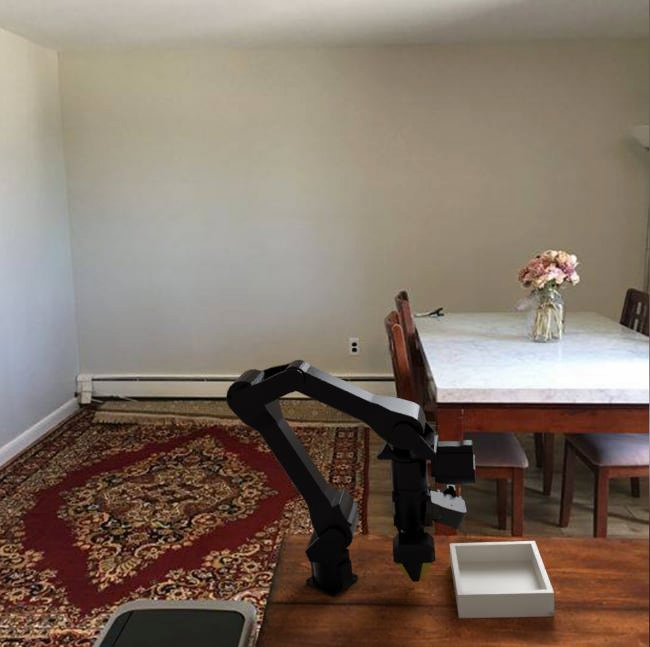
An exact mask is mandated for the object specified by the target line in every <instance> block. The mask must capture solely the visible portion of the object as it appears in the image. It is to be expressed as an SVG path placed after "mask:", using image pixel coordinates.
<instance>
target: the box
mask: <svg viewBox="0 0 650 647" xmlns="http://www.w3.org/2000/svg"><path fill="white" fill-rule="evenodd" d="M449 552H450V553H449V554H450V556H449V557H450V567H451V575H452V580H453V588H454V595H455V602H456V608H457V615H458V616H457V617H458V619H479V618H480V619H482V618H483V619H485V618H487V619H489V618H530V617H531V618H535V617H537V618H539V617H545V618H546V617H547V618H548V617H555V592H554V588H553V586H552V583H551V581H550V578H549V576H548V573H547V571H546V567H545V565H544V563H543V562H544V561H543V560H542V557H541V554H540V551H539V548H538V546H537V543H536V541H535V540H523V541H521V540H520V541H488V542H457V543H456V542H454V543H449Z"/></svg>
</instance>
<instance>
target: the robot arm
mask: <svg viewBox="0 0 650 647" xmlns="http://www.w3.org/2000/svg"><path fill="white" fill-rule="evenodd" d="M295 392H297V393H300V394H302V395H303V396H306V397H307V398H310V399H312V400H315V401H316V402H319V403H321V404H324V405H326V406H327V407H329V408H332V409H334V410H337V412H341V413H343V414H345V415H346V416H350V417H352V418H354V419H356V420H358V421H360V422H363V423H364V424H365V425H367V426H368V427H369V428H370V429H371V430H372V431H373V432H374V433H375V434H376V435H377V437H379V438H380V439H382V440H384V441H385V442H384V444H382V445H381V446H380V447H379V448H378V451H377V455H376V459H377V460H378V461H389V465H390V466H389V468H390V479H391V502H392V512H393V527H395V528H396V530H397V532H398V533H396V535H395V536H394V537H393V538H392V558H393V559H392V560H393V563H395V564H396V565H397V564H402V565H403V567H404V568H405V570H406V572H407V573H408V575H409V577H410V578H409V579H410V580H411V582H412V583H418V582H420V580H421V578H420V575H421V570H422V565H423V563H431V564H433V563H434V562H436V548H435V538H434V536H432V534H430V533H429V532H427V531H425V527H428V528H429V527H434V524H433V523H437V524H440V525H443V526H446V527H450V528H451V529H453V530H457V531H458V530H461V529H462V526H463V523H464V520H465V517H466V516H467V513H468V512H467V507H466V502H465V500H464V499H463V498H462V495H457V490H456V486H476V483H477V482H476V481H477V479H476V477H477V476H476V455H475V454H474V442H473V440H472V439H464V440H459V441H458V440H457V441H456V440H454V441H453V440H452V441H451V440H446V441H443V440H441V441H439V437H440V436H439V434H438V432H436V430H435V428H433V427H432V426H431V424H430V423H429V422H428V421H427V419H426V414H425V412H424V410H423V408H422V407H421V405H419V404H417V403H416V402H413V401H411V400H406V399H403V398H399V397H395V396H388V395H387V396H386V395H385V396H384V395H378V394H376V393H373V392H370V391H368V390H366V389H363V388H361V387H359V386H357V385H355V384H353V383H350V382H348V381H347V380H343V379H342V378H339V377H337V376H335V375H332V374H331V373H328V372H326V371H324V370H321V369H319V368H317V367H315V366H313V365H311V364H309V363H308V362H307V361H305V360H304V359H295V360H293V361H291V362H287V363H284V364H279V365H274V366H270V367H268V368H265V369H263V370H259V369H256V368H253V369H251V368H250V369H247V370H245V371H244V372H243V373H241V374H240V375H239V377H237V379H236V380H235V381H233V383H231V385H230V386H229V387H228V389H227V392H226V397H225V401H226V404H227V406H228V408H229V409H230V411H231V412H232V413H233V414H234V415H235V416H236V417H237V418H238V419H239V420H240V421H241V423H242V424H244V425H246V426H248V427H249V428H250V429H253V430H254V431H256V432H257V433H258V434H259V435H260V436H261V438H262V439H263V441H264V442H265V445H266V446H267V447H268V448H269V450H270V451H271V453H272V454H273V456H274V457H275V460H277V461H278V464H280V466H281V468H282V469H283V471H284V472H285V474H286V475H287V478H289V480H290V481H291V483H292V484H293V486H294V487H295V488H296V490H297V492H298V493H299V495H300V496H301V498H302V499H303V500H304V502H305V504H306V507H307V510H308V514H309V519H310V523H311V527H312V529H313V530H312V534H311V537H310V539H309V541H308V544H307V546H306V548H305V551H304V553H305V554H306V557H307V559H308V562H310V567H311V576H310V577H309V578H307V579H306V580H305V584H306V585H308V586H309V587H311V588H312V589H315V590H317V591H319V592H321V593H323V594H325V595H327V596H329V597H336V596H337V595H339V594H340V593H341V592H342V591H345V589H347V588H348V587H349V586H351V585H352V584H353V583H354V582H356V581H357V580H359V577H358V576H359V575H357V574H356V573H354V572H353V568H352V566H353V565H352V560H351V558H350V549H348V548H349V547H350V545H351V544H352V542H353V539H354V536H355V532H356V529H357V525H358V522H359V511H358V507H359V503H357V502H356V501H354V500H353V498H352V497H351V495H350V493H349V491H348V489H347V487H346V486H345V487H343V488H341V489H340V490H338V489H336V488H335V487H332V486H331V485H330V483H328V482H327V480H326V479H325V476H323V474H322V472H321V471H320V469H319V468H318V466H317V464H315V461H314V460H313V459H312V457H311V456H310V454H309V452H308V451H307V450H306V448H305V447H304V446H303V444H302V443H301V441H300V439H299V437H298V436H297V434H296V433H295V431H294V430H293V429H292V427H291V426H290V424H289V423H288V421H287V420H286V418H285V416H284V414H283V412H282V408H281V404H280V398H282V397H285V396H287V395H289V394H292V393H295ZM427 461H430V476H431V478H432V479H434V482H435V484H438V485H440V486H441V485H443V486H442V487H441V488H440V489H437V490H436V491H435V490H434V491H433V490H431V484H430V483H429V477H428V462H427Z"/></svg>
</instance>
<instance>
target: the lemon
mask: <svg viewBox="0 0 650 647" xmlns="http://www.w3.org/2000/svg"><path fill="white" fill-rule="evenodd" d="M398 568H399V570H400V571H401V573H402V574H403V575H404V576H405V577H407V578H409V579H411V578H410V577H409V575H408V573H407V572H406V570H405V568H404V567H403V565H402V564H398ZM431 568H432V563H423V565H422V570H421V575H420V579H422V578H425V576H427V574H429V572H430V570H431Z"/></svg>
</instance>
